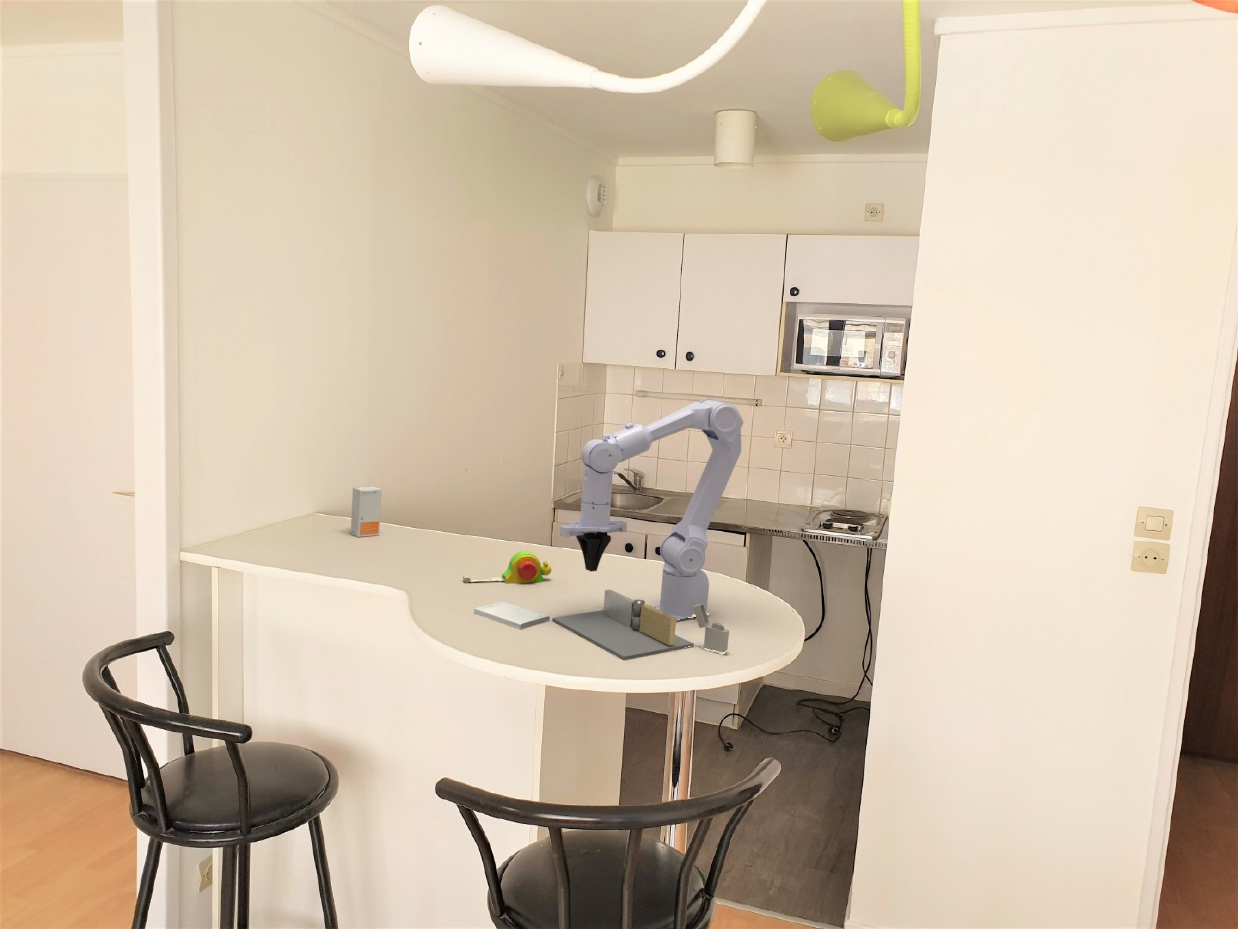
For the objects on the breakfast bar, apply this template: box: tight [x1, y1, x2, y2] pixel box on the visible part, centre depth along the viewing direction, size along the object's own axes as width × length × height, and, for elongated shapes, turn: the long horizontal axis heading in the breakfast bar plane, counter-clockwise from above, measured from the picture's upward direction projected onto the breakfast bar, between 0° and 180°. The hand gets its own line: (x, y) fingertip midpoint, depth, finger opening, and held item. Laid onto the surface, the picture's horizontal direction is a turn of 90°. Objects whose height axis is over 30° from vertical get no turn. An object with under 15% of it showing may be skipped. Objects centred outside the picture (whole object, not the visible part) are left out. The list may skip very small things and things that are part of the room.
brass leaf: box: [633, 599, 677, 645], centre depth 172 cm, size 11×2×5 cm, turn 37°
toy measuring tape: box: [462, 550, 552, 584], centre depth 204 cm, size 6×19×7 cm, turn 109°
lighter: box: [693, 603, 730, 652], centre depth 170 cm, size 7×2×8 cm, turn 54°
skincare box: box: [350, 486, 383, 538], centre depth 235 cm, size 6×4×12 cm
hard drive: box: [473, 600, 551, 630], centre depth 180 cm, size 2×8×12 cm
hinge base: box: [551, 588, 694, 661], centre depth 175 cm, size 16×23×6 cm
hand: (591, 570), depth 183 cm, fingers closed
